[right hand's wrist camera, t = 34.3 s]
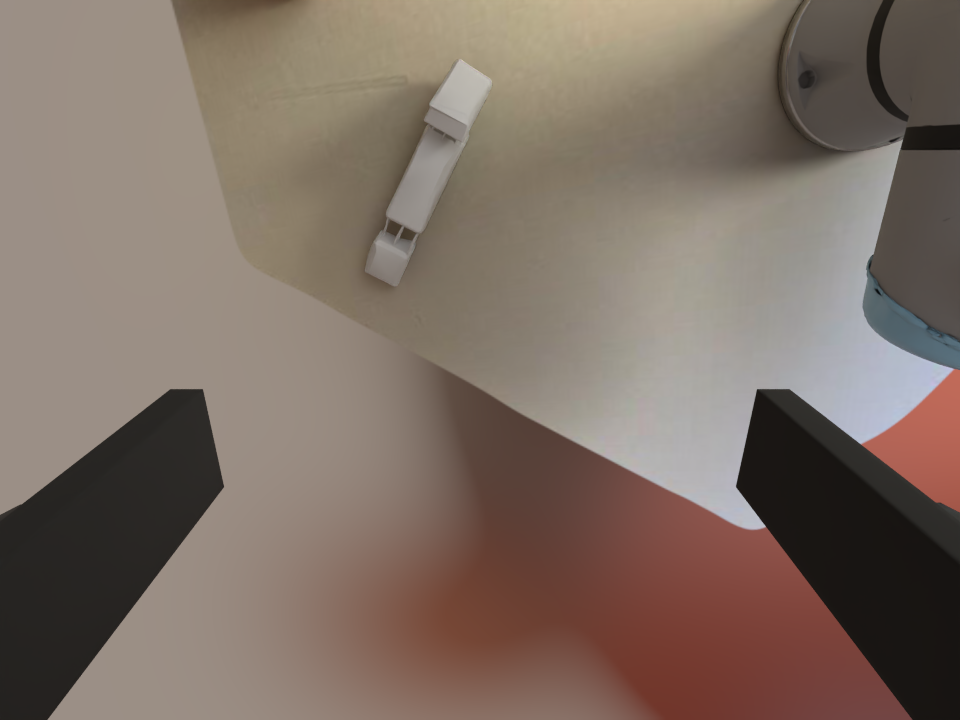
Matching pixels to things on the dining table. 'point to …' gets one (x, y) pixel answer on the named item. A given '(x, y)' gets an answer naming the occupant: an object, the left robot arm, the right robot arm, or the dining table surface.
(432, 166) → the white long segmented piece
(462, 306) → the dining table surface
